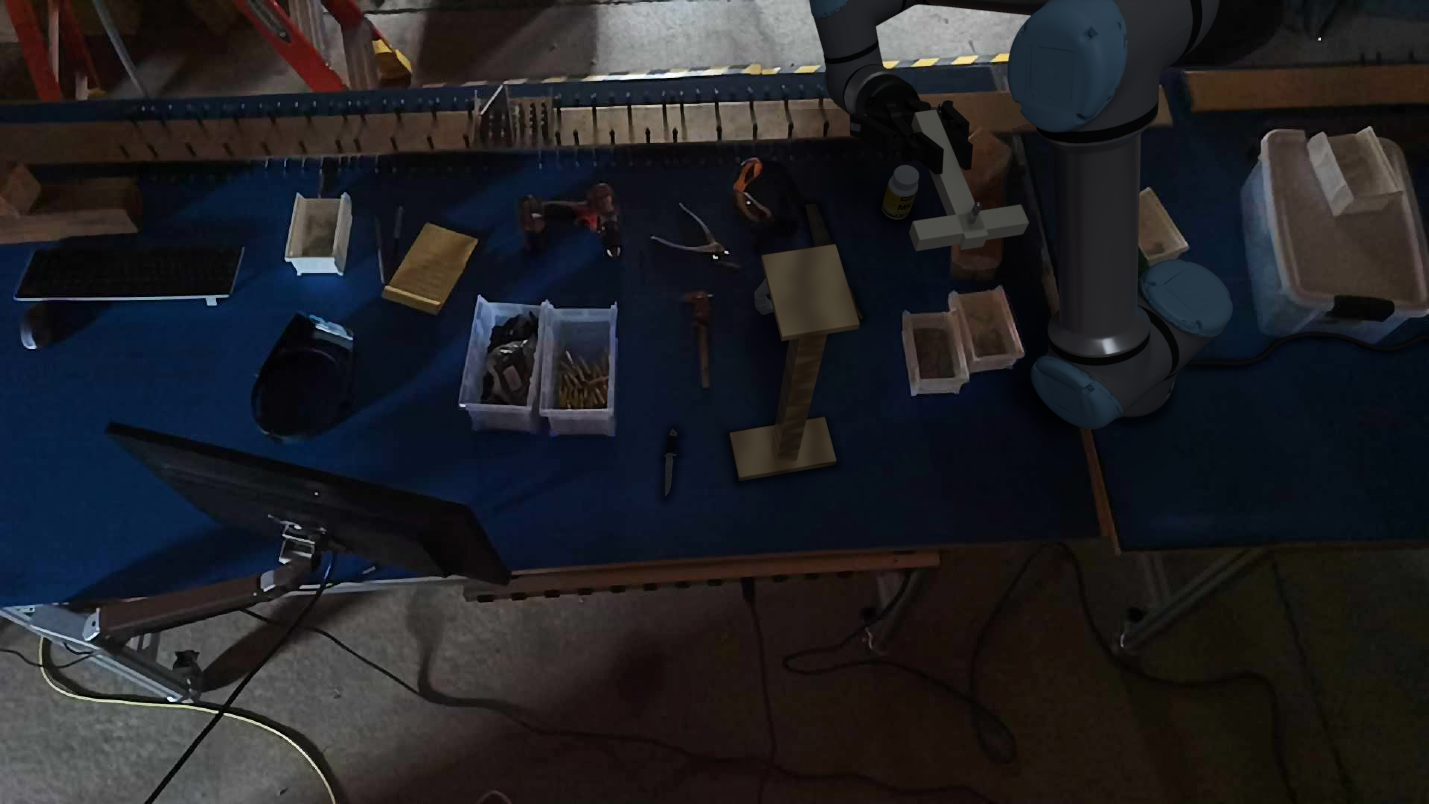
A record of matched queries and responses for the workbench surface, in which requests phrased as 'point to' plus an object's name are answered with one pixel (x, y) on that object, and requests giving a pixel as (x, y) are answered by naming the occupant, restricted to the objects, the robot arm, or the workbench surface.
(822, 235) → the hand saw
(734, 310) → the workbench surface
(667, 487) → the knife
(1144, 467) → the workbench surface
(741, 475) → the stand
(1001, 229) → the grey t-shaped block
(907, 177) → the supplement bottle
